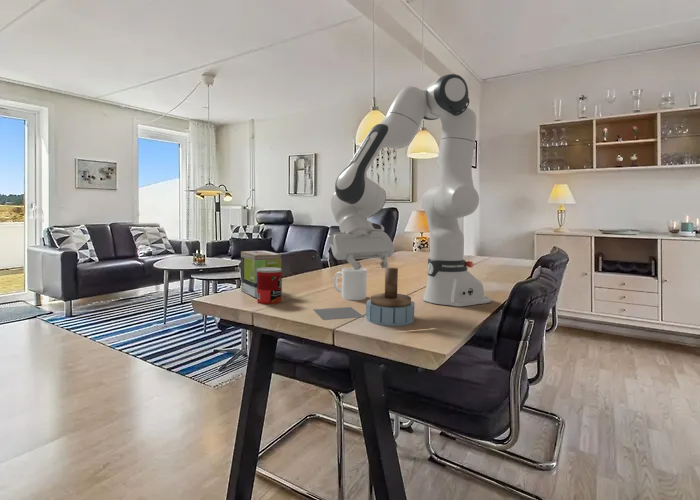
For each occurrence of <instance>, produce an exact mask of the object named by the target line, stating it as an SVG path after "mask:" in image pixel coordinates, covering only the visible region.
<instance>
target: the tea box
mask: <svg viewBox="0 0 700 500" xmlns="http://www.w3.org/2000/svg"><path fill="white" fill-rule="evenodd" d="M264 267H276V268H281V269H282V254H281V253H278V252H274V251H268V250H249V251H248V250H246V251H243V250H242V251H240V291H241V292H243V293H246V294H248V295H249V296H251V297H254V298H256V299H257V269H258V268H264Z"/></svg>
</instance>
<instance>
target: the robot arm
mask: <svg viewBox="0 0 700 500" xmlns="http://www.w3.org/2000/svg"><path fill="white" fill-rule="evenodd" d="M469 105H470V98H469V88H468V85H467V82H466V80H465V79H464V78H463V77H462V76H461V75H459V74H455V73H451V74H450V73H448V74H445V75H443V76H441V77H439V78H438V79H435V80H434V81H432V82H431V83H429V85H427V86H426V87H425V88H424V89H420V88H418V87H417V86H405V87H403V88H402V89H401V90H400V91H399V92H398V93H397V95H396V97H395V98H394V99H393V101H392V103H391V104H390V106H389V109H388V110H387V113H386V114H385V115H384V118H383V120H382V121H381V122H380V123H378V124H376V125H374V126H373V127H372V128H371V129H370V130H369V131H368V133H367V134H366V135H365V137H364V139H363V140H362V142H361V144H360V145H359V146H358V148H357V150H356V151H355V153H354V155H353V156H352V157H351V159H350V161H349V163H348V164H347V166H345V168H343V170H342V171H341V172H340V173H339V175H338V176H337V178H336V180H335V185H334V188H335V189H334V191H335V192H333V194H332V195H331V197H330V198H331V199H330V208H331V211H332V215H333V217H334V219H335V222H336V223H337V224H338V226H339V232H335V231H334V232H330V233H329V234H328V235H327V240H328V241H329V243H330V248H331V252H332V255H333V257H334V259H336V260H337V261H340V260H343V261H344V260H346V261H347V263H349V264H350V266H352V268H354V269H355V270H360V268H362V264H361V262H360V261H357V260H360V259H363V260H365V259H380V260H381V262H380V264H379V265H380V267H381V268H382V269H385V268H389V263H388V258H391V257H392V255H393V254H394V252H395V249H396V248H395V244H394V243H393V241H392V239H391V238H390V236H389V235H388V234H387V233H386V232H385V226H383V225H382V224H378V223H376V222H372V221H370V220H367V219H369V218H371V217H373V216H374V215H375V214H377V213H378V212H380V211H382V209H383V208H384V206H385V203H386V201H387V194H386V191H385V189H384V188H383V187H381V186H380V185H379V184H378V183H376V182H375V181H373V180H372V179H371V178H369V177H368V175H367V172H368V170H369V169H370V167H371V166H372V164H373V162H374V161H375V159H376V157H377V156H378V154H379V153H380V152H381V151H382V150H383V149H385V148H389V149H393V150H394V149H395V150H396V149H397V150H399V149H403V148H406V147H407V146H409V145H410V144H411V143H412V141H413V140H414V138H415V137H416V136H417V135H416V134H417V133H418V131H419V127H420V126H421V124H422V121H423V119H424V120H427V121H434V120H438V119H440V122H441V129H442V131H441V135H440V141H439V146H438V147H439V148H438V155H437V160H436V161H437V162H436V163H437V164H436V165H437V167H438V168H439V173H440V181H441V182H440V184H436V185H433V186H432V187H429V188H428V189H427V190H426V191H424V193H423V194H422V196H421V206H422V208H423V210H424V211H425V214H426V215H425V216H426V221H427V225H428V231H429V233H428V234H429V255H428V259H427V281H426V288H425V291H424V294H423V298H422V300H423V301H425V302H427V303H431V304H437V305H444V306H452V307H457V308H458V307H467V306H468V307H469V306H474V305H480V304H481V305H482V304H487V303H488V304H489V303H491V302H492V300H491V298H490V297H489V296H486V295H485V289H484V286H483V283H482V282H481V281H480V280H479V279H478V278H477V277H476V276H474V275H473V274H472V273H471V272H470V271H469V270H468V268H473V267H474V265H475V263H474V262H473V261H471V260H467V261H466V260H465V259H464V250H465V249H464V247H465V245H464V243H465V236H464V233H463V232H462V230H461V229H460V225H459V220H458V219H460V218H464V217H468V216H470V215H472V214H473V213H475V211H476V210H477V209H478V207H479V204H480V197H479V193H478V191H477V190H476V188H475V185H474V180H473V174H472V173H473V171H472V165H473V157H474V151H475V145H476V136H477V116H476V113H475V111H474V110H473V109H471V108H469Z"/></svg>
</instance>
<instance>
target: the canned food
mask: <svg viewBox="0 0 700 500" xmlns="http://www.w3.org/2000/svg"><path fill="white" fill-rule="evenodd" d="M282 278H283V271H282V267H281V268H276V267H264V268H258V269H257V298H256V301H257V304H262V305H275V304H279V303H281V302H282V301H283V300H282V298H283V295H282V294H283V290H282V289H283V288H282V287H283V286H282V285H283V284H282V283H283V279H282Z"/></svg>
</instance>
